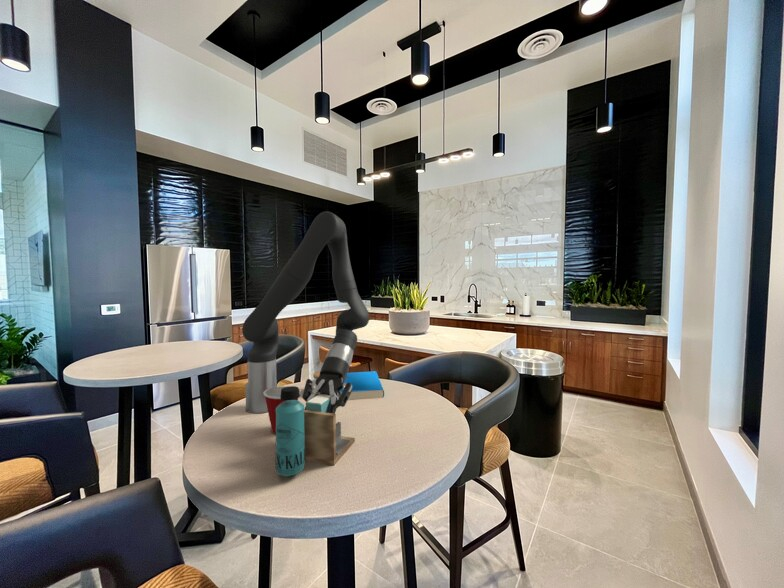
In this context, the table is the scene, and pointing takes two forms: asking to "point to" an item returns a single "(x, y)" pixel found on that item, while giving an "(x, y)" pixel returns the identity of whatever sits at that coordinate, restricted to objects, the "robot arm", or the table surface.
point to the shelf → (324, 438)
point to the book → (364, 385)
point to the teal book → (319, 403)
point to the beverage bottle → (290, 433)
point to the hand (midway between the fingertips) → (316, 418)
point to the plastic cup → (274, 403)
